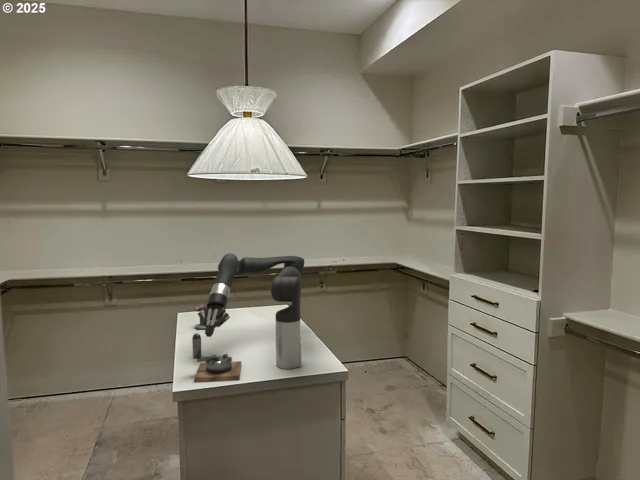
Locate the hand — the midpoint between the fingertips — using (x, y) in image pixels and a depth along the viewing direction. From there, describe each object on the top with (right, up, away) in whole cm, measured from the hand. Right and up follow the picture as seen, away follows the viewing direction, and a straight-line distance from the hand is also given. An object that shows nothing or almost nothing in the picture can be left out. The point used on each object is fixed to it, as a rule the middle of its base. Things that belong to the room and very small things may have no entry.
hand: (208, 335), depth 170 cm
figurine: (-14, -7, +48) cm, 50 cm away
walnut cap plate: (+6, -11, -10) cm, 16 cm away
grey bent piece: (+4, -9, -11) cm, 15 cm away
